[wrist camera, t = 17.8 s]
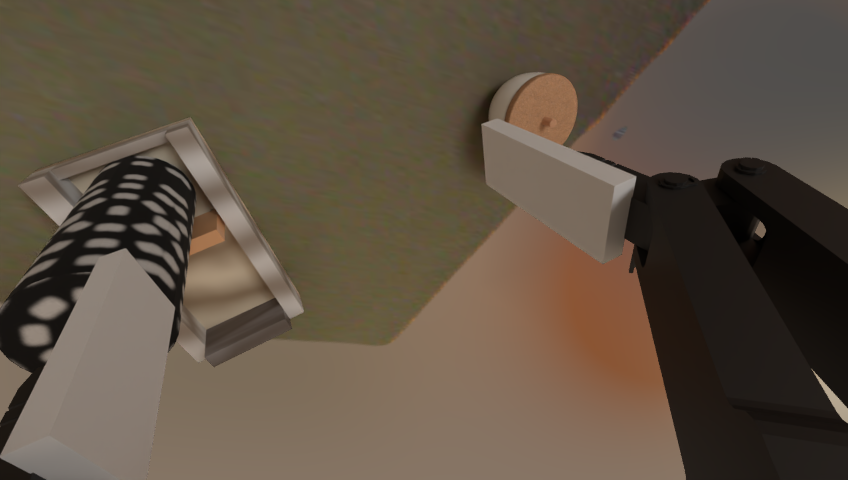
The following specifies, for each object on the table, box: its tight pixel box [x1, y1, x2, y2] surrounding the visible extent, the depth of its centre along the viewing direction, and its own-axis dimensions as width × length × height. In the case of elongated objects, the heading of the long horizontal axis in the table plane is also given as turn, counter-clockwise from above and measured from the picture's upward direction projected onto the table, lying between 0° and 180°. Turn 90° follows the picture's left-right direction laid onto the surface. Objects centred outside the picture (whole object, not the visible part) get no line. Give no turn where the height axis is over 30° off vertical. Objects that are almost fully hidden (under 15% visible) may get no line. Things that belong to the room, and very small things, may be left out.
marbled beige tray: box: [18, 117, 304, 367], centre depth 41 cm, size 26×14×6 cm, turn 14°
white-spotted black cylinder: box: [0, 156, 197, 373], centre depth 30 cm, size 8×8×20 cm
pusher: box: [189, 209, 225, 256], centre depth 39 cm, size 2×9×5 cm, turn 104°
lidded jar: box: [488, 72, 577, 145], centre depth 49 cm, size 11×11×9 cm
